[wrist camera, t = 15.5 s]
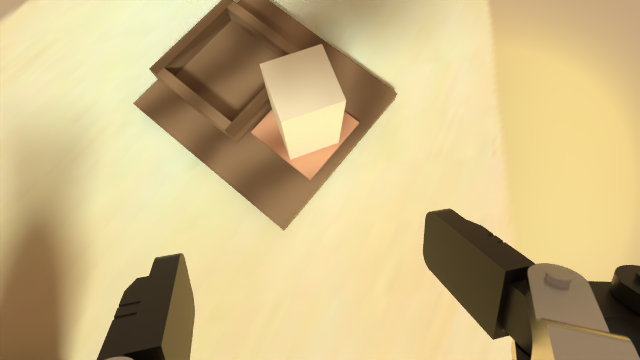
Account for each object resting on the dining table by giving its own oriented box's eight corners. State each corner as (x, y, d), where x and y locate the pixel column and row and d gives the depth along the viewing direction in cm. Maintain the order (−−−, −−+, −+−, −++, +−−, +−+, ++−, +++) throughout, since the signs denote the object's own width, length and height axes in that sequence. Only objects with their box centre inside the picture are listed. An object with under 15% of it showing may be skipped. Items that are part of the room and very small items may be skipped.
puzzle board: (139, 108, 37) (122, 94, 34) (254, -3, 40) (249, -26, 37) (284, 230, 34) (280, 226, 31) (394, 98, 37) (401, 83, 34)
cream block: (290, 159, 34) (281, 122, 25) (273, 114, 35) (259, 64, 26) (338, 142, 34) (346, 100, 26) (320, 98, 35) (321, 43, 27)
